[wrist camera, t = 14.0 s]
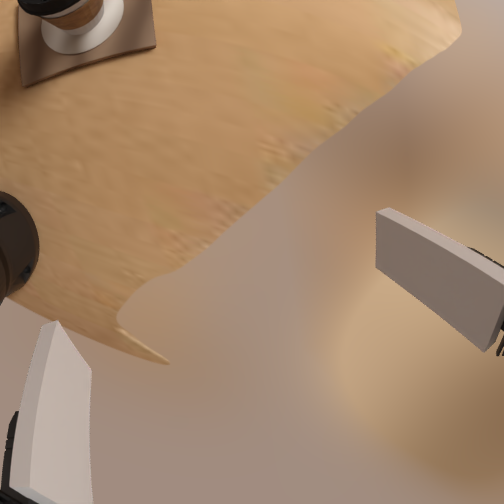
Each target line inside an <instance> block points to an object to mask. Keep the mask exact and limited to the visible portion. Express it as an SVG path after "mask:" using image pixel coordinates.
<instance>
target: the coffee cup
mask: <svg viewBox="0 0 504 504" xmlns="http://www.w3.org/2000/svg"><path fill="white" fill-rule="evenodd" d="M17 1H18V3H19V5H20V7H21V8H22V9H23V10H24V11H25V12H26V13H28V14H30V15H34V16H37V17H39V18H41V19H43V20H45V21H46V22H48V23H50V24H52V25H54V26H56V27H57V28H59V29H61V30H62V31H64V32H66V33H68V34H71V35H80V34H84V33H86V32H88V31H90V30H92V29H93V28H94V27H95V26H97V24H98V23H99V22H100V21H101V19H102V17H103V15H104V0H17Z"/></svg>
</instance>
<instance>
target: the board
mask: <svg viewBox="0 0 504 504" xmlns="http://www.w3.org/2000/svg"><path fill="white" fill-rule="evenodd" d="M151 48H156V38H155V30H154V21H153V12H152V3H151V0H104V15H103V17H102V19H101V21H100V22H99V23H98V24H97V26H95V27H94V28H93V29H92V30H90V31H88V32H86V33H84V34H80V35H71V34H68V33H66V32H64V31H62V30H61V29H59V28H57V27H56V26H54V25H52V24H50V23H48V22H46V21H45V20H43V19H41V18H39V17H37V16H34V15H30V14H28V13H26V12H25V11H24V10H23V9H22V8H21V7H20V5H19V54H20V68H21V79H22V87H28V86H31V85H33V84H35V83H38V82H40V81H43V80H45V79H48V78H50V77H53V76H56V75H58V74H61V73H64V72H67V71H69V70H72V69H75V68H78V67H81V66H84V65H88V64H91V63H94V62H98V61H101V60H105V59H108V58H112V57H116V56H120V55H124V54H128V53H132V52H136V51H141V50H146V49H151Z"/></svg>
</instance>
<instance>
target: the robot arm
mask: <svg viewBox="0 0 504 504" xmlns="http://www.w3.org/2000/svg"><path fill="white" fill-rule="evenodd" d="M38 257H39V238H38V233H37V229H36V226H35V224H34V221H33V219H32V217H31V215H30V214H29V212H28V211H27V209H26V208H25V207H24V206H23V205H22V203H20V202H19V201H18V200H17V199H16V198H14V197H13V196H11V195H9V194H7V193H5V192H1V191H0V305H1V303H2V302H3V299H4V298H5V297H6V296H8V295H10V294H11V293H13V292H15V291H16V290H18V289H20V288H21V287H22V286H23V285H24V284H25V283H26V282H27V281H28V279H29V278H30V276H31V274H32V273H33V271H34V269H35V267H36V264H37V261H38ZM376 268H377V269H379V270H380V271H381V272H383V273H384V274H385V275H387V276H388V277H389V278H391V279H392V280H393V281H395V282H396V283H397V284H399V285H400V286H401V287H403V288H404V289H405V290H407V291H408V292H409V293H410V294H412V295H413V296H414V297H416V298H417V299H418V300H420V301H421V302H422V303H423V304H425V305H426V306H427V307H429V308H430V309H431V310H432V311H434V312H435V313H436V314H437V315H439V316H440V317H441V318H442V319H444V320H445V321H446V322H448V323H449V324H450V325H451V326H452V327H454V328H455V329H456V330H457V331H459V332H460V333H461V334H462V335H463V336H465V337H466V338H467V339H468V340H469V341H471V342H472V343H473V344H474V345H475V346H477V347H478V348H479V349H480V350H481V351H482V352H485V351H486V350H487V349H489V348H490V347H491V346H492V345H493V344H494V343H495V341H496V339H497V336H498V334H499V332H500V329H501V330H503V331H504V266H502V265H501V264H499V263H497V262H496V261H492V259H490V258H489V257H487V256H484V254H482V253H480V252H478V251H477V250H475V249H473V248H469V247H466V246H464V245H462V244H460V243H458V242H457V241H455V240H453V239H451V238H449V237H447V236H445V235H443V234H442V233H440V232H438V231H436V230H434V229H432V228H430V227H428V226H426V225H424V224H422V223H420V222H418V221H416V220H414V219H412V218H410V217H408V216H406V215H404V214H402V213H400V212H397V211H396V210H394V209H391V208H389V207H388V208H386V209H383V210H380V211H377V212H376ZM503 347H504V336H503V338H502V340H501V343H500V345H499V347H498V349H497V351H496V356H499V355H500V352H501V351H502V348H503ZM502 356H504V351H503V354H502ZM91 376H92V370H91V369H90V367H89V366H88V365H87V363H86V362H85V360H84V359H83V358H82V356H81V355H80V353H79V352H78V350H77V349H76V348H75V346H74V345H73V343H72V342H71V340H70V339H69V337H68V335H67V334H66V332H65V331H64V329H63V328H62V326H61V325H60V323H59V321H58V320H56V321H53V322H50V323H48V324H45V325H42V328H41V331H40V334H39V337H38V340H37V343H36V346H35V350H34V353H33V356H32V360H31V364H30V367H29V371H28V375H27V379H26V383H25V387H24V391H23V396H22V400H21V404H20V409H19V411H16V412H15V414H14V416H13V418H12V420H11V422H10V424H9V429H8V434H7V439H8V440H6V446H5V449H6V451H5V453H4V461H3V471H2V481H1V482H2V483H1V490H0V504H93V497H92V484H91V468H90V435H89V434H90V429H89V428H90V423H89V422H90V392H91Z"/></svg>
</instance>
